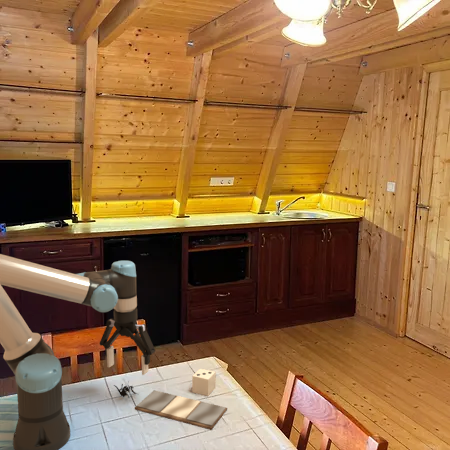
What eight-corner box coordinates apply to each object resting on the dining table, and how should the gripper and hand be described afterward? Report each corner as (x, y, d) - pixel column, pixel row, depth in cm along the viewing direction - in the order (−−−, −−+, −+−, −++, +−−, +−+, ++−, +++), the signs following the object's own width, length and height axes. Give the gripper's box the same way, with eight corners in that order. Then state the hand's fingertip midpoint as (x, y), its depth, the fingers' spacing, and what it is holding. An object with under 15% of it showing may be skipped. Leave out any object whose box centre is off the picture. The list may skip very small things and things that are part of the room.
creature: (122, 391, 164) (109, 397, 156) (123, 375, 164) (111, 381, 156) (142, 395, 161) (131, 401, 154) (143, 379, 161) (132, 385, 154)
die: (192, 392, 161) (192, 375, 160) (199, 384, 167) (200, 368, 166) (208, 396, 159) (208, 379, 158) (215, 388, 164) (215, 371, 163)
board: (134, 409, 150) (134, 406, 150) (154, 391, 161) (154, 389, 161) (211, 429, 140) (211, 426, 140) (227, 409, 151) (227, 406, 151)
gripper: (164, 309, 152) (166, 371, 156) (101, 300, 162) (103, 358, 165) (152, 317, 145) (154, 381, 149) (86, 306, 155) (90, 367, 158)
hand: (127, 369), depth 157 cm, fingers open, 13 cm apart
